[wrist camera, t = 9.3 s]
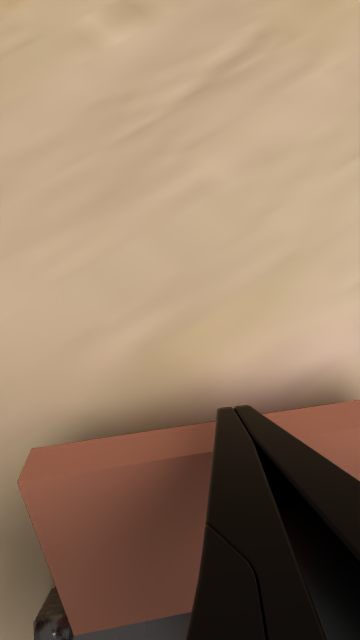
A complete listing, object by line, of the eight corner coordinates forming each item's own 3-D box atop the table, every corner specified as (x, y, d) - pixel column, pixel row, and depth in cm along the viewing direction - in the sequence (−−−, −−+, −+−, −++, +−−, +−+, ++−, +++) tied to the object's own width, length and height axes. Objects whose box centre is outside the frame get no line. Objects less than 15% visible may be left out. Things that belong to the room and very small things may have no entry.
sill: (445, 562, 15) (502, 596, 12) (53, 642, 13) (29, 700, 11) (431, 511, 15) (483, 535, 13) (51, 583, 14) (27, 625, 11)
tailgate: (455, 557, 12) (518, 403, 10) (74, 636, 11) (17, 482, 8) (423, 521, 14) (469, 377, 11) (81, 587, 12) (34, 441, 10)
